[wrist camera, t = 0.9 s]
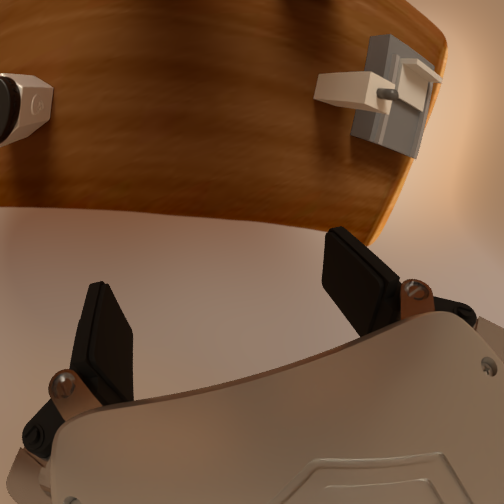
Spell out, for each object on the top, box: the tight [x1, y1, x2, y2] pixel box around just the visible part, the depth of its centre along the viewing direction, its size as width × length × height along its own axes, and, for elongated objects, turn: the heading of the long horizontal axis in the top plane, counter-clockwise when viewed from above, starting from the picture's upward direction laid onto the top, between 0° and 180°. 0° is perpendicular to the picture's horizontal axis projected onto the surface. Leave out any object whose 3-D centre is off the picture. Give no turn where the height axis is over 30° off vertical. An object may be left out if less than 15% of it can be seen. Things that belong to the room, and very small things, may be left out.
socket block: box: [350, 34, 435, 159], centre depth 34 cm, size 19×12×6 cm, turn 170°
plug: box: [314, 71, 399, 115], centre depth 29 cm, size 4×4×14 cm
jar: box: [0, 73, 54, 147], centre depth 18 cm, size 9×8×12 cm
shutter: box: [395, 58, 442, 112], centre depth 30 cm, size 7×7×4 cm
